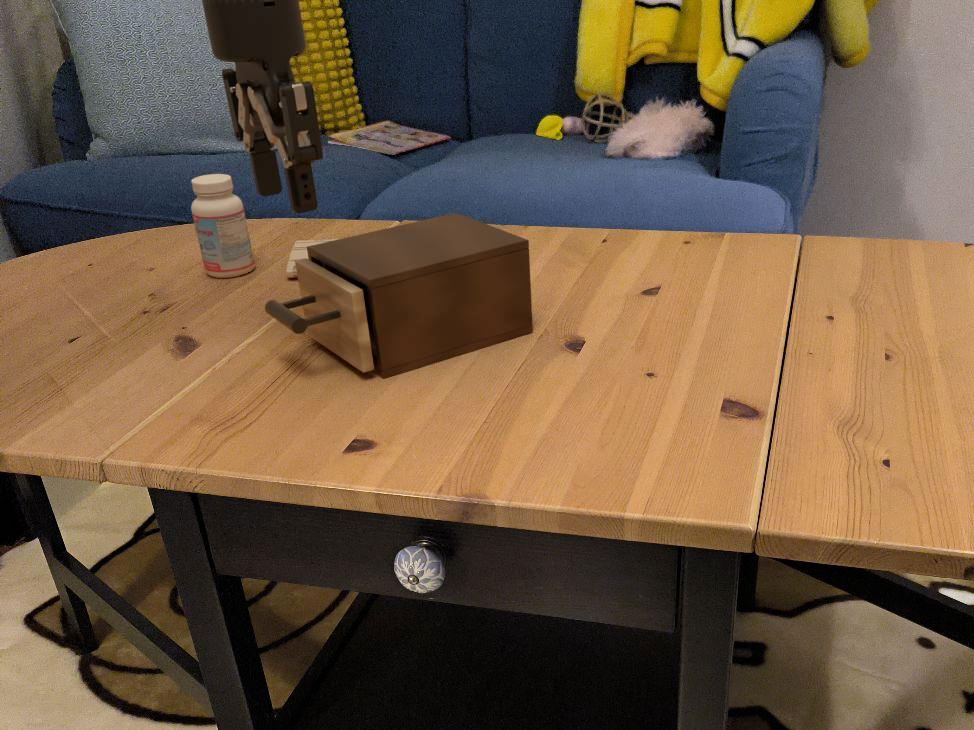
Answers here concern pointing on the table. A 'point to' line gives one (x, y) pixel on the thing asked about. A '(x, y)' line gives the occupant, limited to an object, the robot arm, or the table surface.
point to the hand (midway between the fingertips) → (287, 202)
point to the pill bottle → (221, 227)
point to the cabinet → (436, 287)
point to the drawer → (331, 313)
